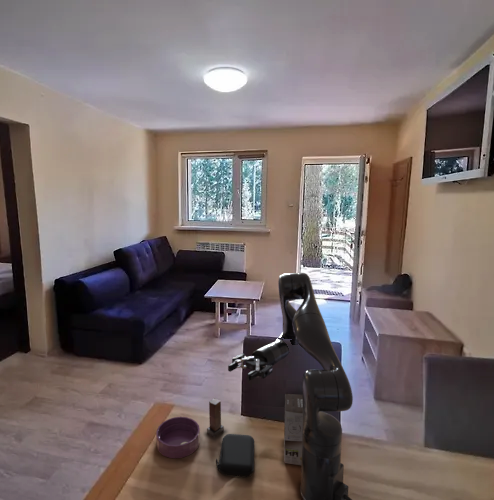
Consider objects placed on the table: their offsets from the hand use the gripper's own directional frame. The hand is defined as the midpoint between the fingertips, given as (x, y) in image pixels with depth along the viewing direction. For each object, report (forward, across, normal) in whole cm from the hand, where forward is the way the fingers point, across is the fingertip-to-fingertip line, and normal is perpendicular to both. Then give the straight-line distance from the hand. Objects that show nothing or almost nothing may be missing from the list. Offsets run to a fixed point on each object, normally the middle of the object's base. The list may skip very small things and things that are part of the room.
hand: (238, 373), depth 112 cm
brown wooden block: (+11, 0, +16) cm, 19 cm away
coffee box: (+1, +23, +16) cm, 28 cm away
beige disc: (+22, -2, +16) cm, 27 cm away
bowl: (+22, -5, +16) cm, 28 cm away
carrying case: (+14, +11, +16) cm, 25 cm away
